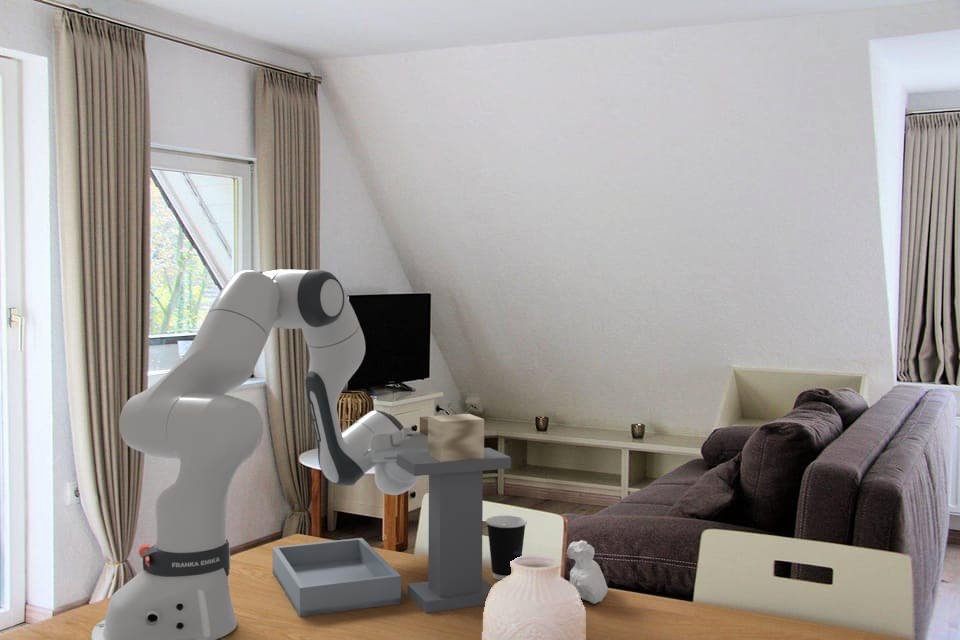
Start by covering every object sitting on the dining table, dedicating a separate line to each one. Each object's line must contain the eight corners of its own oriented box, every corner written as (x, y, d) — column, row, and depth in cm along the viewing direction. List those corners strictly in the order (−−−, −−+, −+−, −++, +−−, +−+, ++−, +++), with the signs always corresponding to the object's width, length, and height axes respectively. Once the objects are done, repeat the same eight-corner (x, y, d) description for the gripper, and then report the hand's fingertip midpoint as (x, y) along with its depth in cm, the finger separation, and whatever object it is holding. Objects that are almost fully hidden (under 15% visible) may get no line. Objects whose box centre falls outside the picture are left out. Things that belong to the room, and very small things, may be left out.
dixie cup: (529, 582, 180) (529, 525, 179) (487, 583, 179) (488, 526, 178) (523, 569, 188) (523, 514, 187) (483, 570, 187) (483, 515, 186)
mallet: (441, 461, 164) (441, 421, 163) (407, 443, 181) (407, 407, 181) (483, 458, 167) (484, 419, 166) (446, 440, 184) (446, 405, 184)
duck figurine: (589, 598, 178) (553, 548, 179) (621, 575, 176) (585, 526, 177) (583, 620, 166) (544, 567, 167) (617, 597, 165) (578, 544, 166)
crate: (299, 617, 161) (299, 588, 161) (272, 572, 185) (272, 547, 185) (400, 603, 168) (400, 575, 168) (362, 562, 192) (362, 537, 192)
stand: (414, 614, 163) (414, 464, 161) (396, 596, 172) (397, 454, 171) (509, 601, 169) (510, 457, 168) (488, 584, 179) (489, 447, 177)
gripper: (359, 443, 189) (376, 417, 178) (454, 437, 197) (477, 412, 185) (363, 473, 186) (380, 449, 175) (460, 466, 194) (482, 442, 183)
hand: (431, 430), depth 180 cm, fingers open, 8 cm apart
